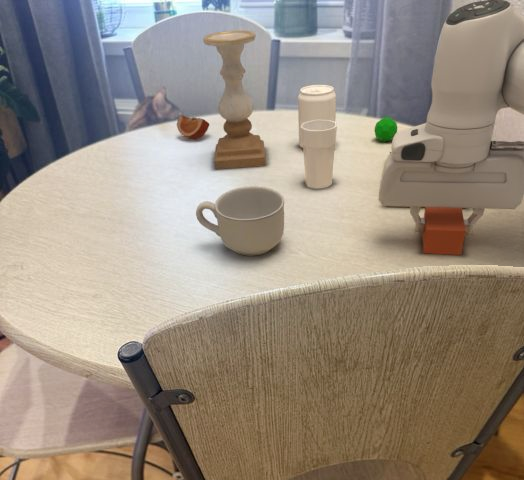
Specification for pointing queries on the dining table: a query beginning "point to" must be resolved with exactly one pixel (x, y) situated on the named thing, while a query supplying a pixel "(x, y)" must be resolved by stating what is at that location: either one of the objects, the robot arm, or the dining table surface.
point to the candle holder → (235, 105)
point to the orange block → (443, 231)
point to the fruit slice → (192, 127)
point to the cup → (318, 152)
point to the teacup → (247, 219)
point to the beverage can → (316, 105)
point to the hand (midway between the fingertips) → (442, 231)
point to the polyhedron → (385, 129)
